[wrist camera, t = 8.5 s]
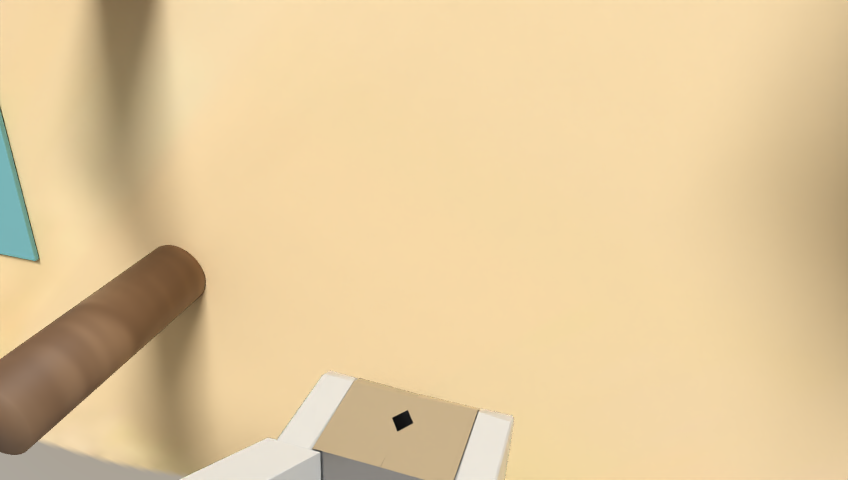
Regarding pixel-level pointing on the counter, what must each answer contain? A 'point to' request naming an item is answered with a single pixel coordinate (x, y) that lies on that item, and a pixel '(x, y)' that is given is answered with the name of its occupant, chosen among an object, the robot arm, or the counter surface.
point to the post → (91, 344)
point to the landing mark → (13, 207)
